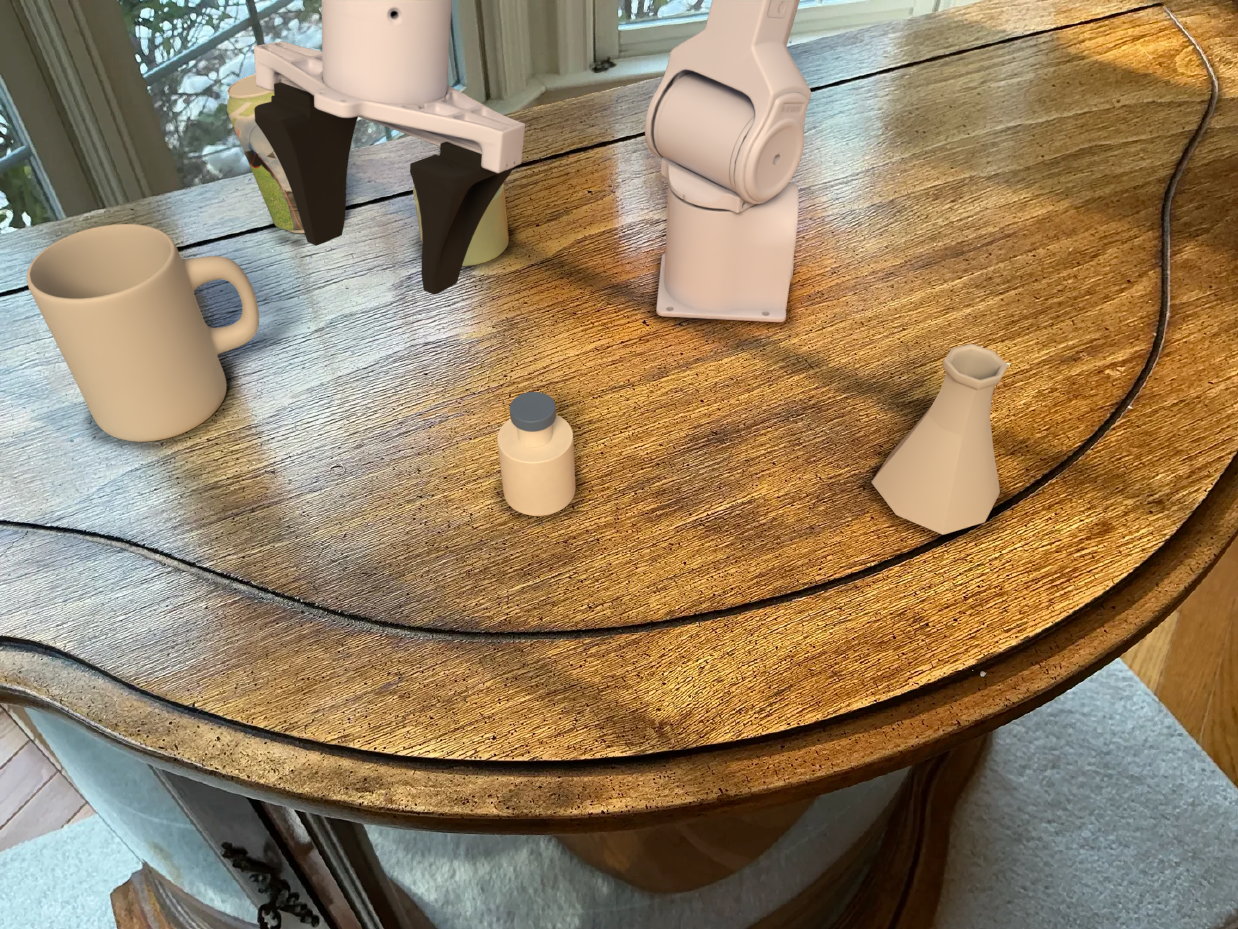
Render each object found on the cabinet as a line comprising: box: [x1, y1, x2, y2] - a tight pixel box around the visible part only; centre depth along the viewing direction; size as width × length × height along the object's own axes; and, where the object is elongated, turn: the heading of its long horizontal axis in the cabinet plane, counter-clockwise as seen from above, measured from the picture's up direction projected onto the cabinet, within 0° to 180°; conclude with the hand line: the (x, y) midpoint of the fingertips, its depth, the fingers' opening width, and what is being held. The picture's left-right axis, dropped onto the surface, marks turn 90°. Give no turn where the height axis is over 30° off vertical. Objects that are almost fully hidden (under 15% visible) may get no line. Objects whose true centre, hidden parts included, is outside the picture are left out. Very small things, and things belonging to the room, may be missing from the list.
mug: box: [26, 223, 260, 443], centre depth 63 cm, size 12×8×11 cm
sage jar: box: [412, 182, 510, 267], centre depth 78 cm, size 7×7×6 cm
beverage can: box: [226, 73, 305, 234], centre depth 78 cm, size 6×7×12 cm
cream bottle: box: [496, 391, 577, 517], centre depth 58 cm, size 4×4×7 cm
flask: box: [871, 343, 1009, 535], centre depth 56 cm, size 7×7×10 cm
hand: (381, 262), depth 52 cm, fingers open, 7 cm apart
